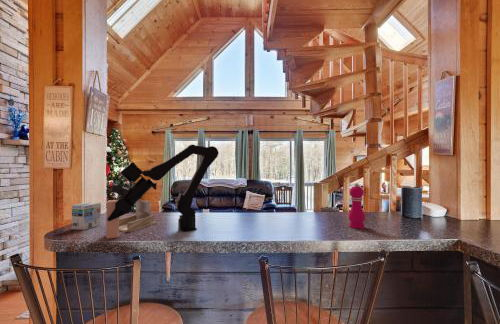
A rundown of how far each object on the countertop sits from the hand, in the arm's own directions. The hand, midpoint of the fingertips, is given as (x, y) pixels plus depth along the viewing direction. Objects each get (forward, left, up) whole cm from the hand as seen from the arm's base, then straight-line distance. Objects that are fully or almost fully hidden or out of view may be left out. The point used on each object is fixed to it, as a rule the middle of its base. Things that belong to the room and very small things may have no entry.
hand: (109, 218), depth 113 cm
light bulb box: (+7, -24, -7) cm, 26 cm away
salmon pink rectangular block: (-1, 0, -7) cm, 7 cm away
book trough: (-11, -13, -7) cm, 18 cm away
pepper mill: (-96, +44, -7) cm, 106 cm away
